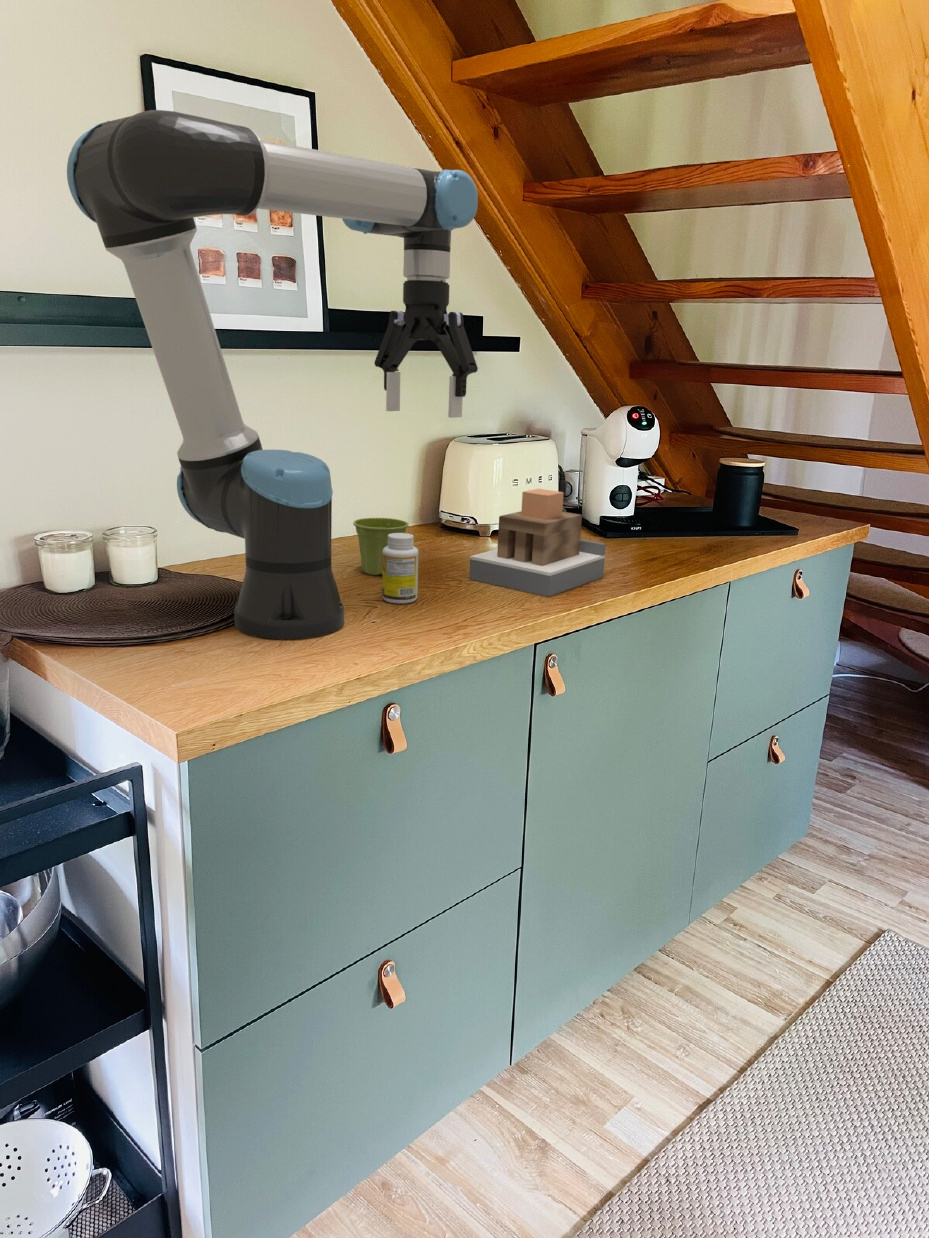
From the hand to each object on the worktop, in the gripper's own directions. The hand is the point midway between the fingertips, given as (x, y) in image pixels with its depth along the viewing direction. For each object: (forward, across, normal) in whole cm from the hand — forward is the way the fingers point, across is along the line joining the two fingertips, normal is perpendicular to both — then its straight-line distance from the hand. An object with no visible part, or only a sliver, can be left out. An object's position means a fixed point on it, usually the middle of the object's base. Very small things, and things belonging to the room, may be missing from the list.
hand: (423, 414), depth 154 cm
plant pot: (+27, +3, +7) cm, 28 cm away
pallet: (+23, -19, -9) cm, 31 cm away
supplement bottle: (+27, -11, +18) cm, 34 cm away
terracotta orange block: (+16, -19, -9) cm, 26 cm away
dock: (+27, -19, -9) cm, 34 cm away
